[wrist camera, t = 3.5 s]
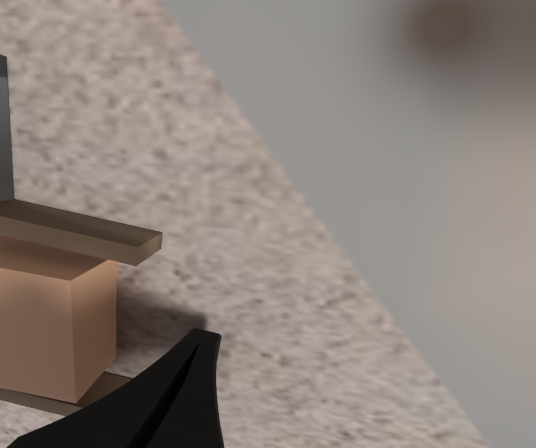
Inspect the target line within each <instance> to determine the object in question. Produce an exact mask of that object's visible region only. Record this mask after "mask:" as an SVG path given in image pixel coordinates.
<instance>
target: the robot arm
mask: <svg viewBox="0 0 536 448" xmlns="http://www.w3.org/2000/svg"><path fill="white" fill-rule="evenodd" d="M220 342H221V335H220V334H218V333H214V332H210V331H205V330H201V329H197V328H194V329H192V330H191V331H190V332H189V333H188V334H187V335H186V336H185V337H184V338H183V339H182V340H181V341H180V342H178V343H177V344H176V345H175V346H174V347H173V348H172V349H170V350H169V351H168V352H167V353H166V354H165V355H163V356H162V357H161V358H160V359H159V360H157V361H156V362H155V363H153V364H152V365H151V366H149V367H148V368H147V369H146V370H144V371H143V372H141V373H140V374H139V375H137V376H136V377H134V378H133V379H131V380H130V381H128V382H127V383H125V384H124V385H122V386H121V387H119V388H118V389H116V390H114V391H113V392H111V393H109V394H108V395H106V396H104V397H102V398H101V399H99V400H97V401H95V402H94V403H92V404H90V405H88V406H86V407H84V408H82V409H80V410H78V411H76V412H74V413H72V414H70V415H68V416H66V417H64V418H62V419H60V420H58V421H55V422H53V423H51V424H48V425H46V426H44V427H41V428H39V429H36V430H34V431H32V432H29V433H27V434H25V435H22V436H19V437H18V438H17V439H16V440H14V441H13V442H12V443H11V444H10V445H9V446H8V447H7V448H224V443H223V437H222V432H221V426H220V420H219V412H218V403H217V390H216V363H217V358H218V352H219V347H220Z"/></svg>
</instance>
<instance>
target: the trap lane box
mask: <svg viewBox="0 0 536 448" xmlns="http://www.w3.org/2000/svg"><path fill="white" fill-rule="evenodd" d="M0 235H3V236H7V237H12V238H16V239H21V240H25V241H29V242H34V243H38V244H42V245H47V246H51V247H55V248H60V249H64V250H68V251H73V252H77V253H82V254H86V255H90V256H95V257H99V258H103V259H108V260H112V261H116V262H121V263H125V264H129V265H134V266H137V265H138V264H140V263H141V262H143V261H144V260H146V259H147V258H148V257H150V256H151V255H153V254H154V253H155V252H157V251H158V250H160V249H161V242H162V233H161V232H157V231H152V230H148V229H143V228H139V227H134V226H130V225H126V224H121V223H117V222H112V221H108V220H103V219H99V218H95V217H90V216H86V215H81V214H77V213H72V212H68V211H63V210H59V209H55V208H50V207H46V206H41V205H37V204H32V203H28V202H24V201H19V200H15V199H14V188H13V170H12V152H11V134H10V116H9V98H8V80H7V62H6V57H5V56H3V55H0ZM130 380H131V378H127V377H122V376H118V375H114V374H110V373H106V372H103V373H102V374H101V375H100V376H99V377H98V379H97V380H96V381H95V382H94V383H93V384H92V385H91V387H90V388H89V389H88V390H87V391H86V392H85V394H84V395H83V396H82V397H81V398H80V399H79V400H78V402H77V403H72V402H67V401H62V400H57V399H52V398H48V397H43V396H38V395H33V394H28V393H23V392H19V391H14V390H9V389H4V388H0V400H2V401H6V402H10V403H14V404H18V405H22V406H26V407H31V408H35V409H39V410H43V411H47V412H51V413H55V414H59V415H63V416H68V415H70V414H72V413H74V412H76V411H78V410H80V409H82V408H84V407H86V406H88V405H90V404H92V403H94V402H95V401H97V400H99V399H101V398H102V397H104V396H106V395H108V394H109V393H111V392H113V391H114V390H116V389H118V388H119V387H121V386H122V385H124V384H125V383H127V382H128V381H130Z"/></svg>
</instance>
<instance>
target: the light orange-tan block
mask: <svg viewBox="0 0 536 448" xmlns="http://www.w3.org/2000/svg"><path fill="white" fill-rule="evenodd" d="M116 287H117V262H116V261H112V260H108V259H103V258H99V257H95V256H90V255H86V254H82V253H77V252H73V251H68V250H64V249H60V248H55V247H51V246H47V245H42V244H38V243H34V242H29V241H25V240H21V239H16V238H12V237H7V236H3V235H0V388H4V389H9V390H14V391H19V392H23V393H28V394H33V395H38V396H43V397H48V398H52V399H57V400H62V401H67V402H72V403H77V402H78V400H79V399H80V398H81V397H82V396H83V395H84V394H85V392H86V391H87V390H88V389H89V388H90V387H91V385H92V384H93V383H94V382H95V381H96V380H97V379H98V377H99V376H100V375H101V374H102V373H103V372H104V371H105V369H106V368H107V367H108V366H109V365H110V364H111V363H112V361H113V360H114V359H115V358H116Z"/></svg>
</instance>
